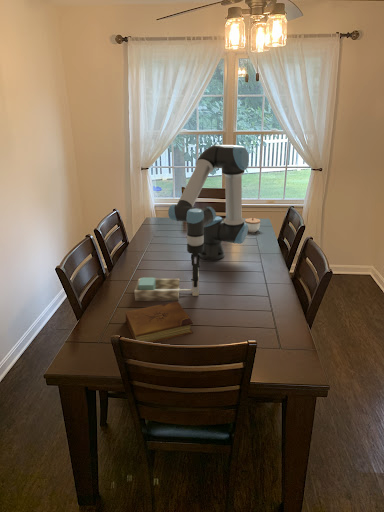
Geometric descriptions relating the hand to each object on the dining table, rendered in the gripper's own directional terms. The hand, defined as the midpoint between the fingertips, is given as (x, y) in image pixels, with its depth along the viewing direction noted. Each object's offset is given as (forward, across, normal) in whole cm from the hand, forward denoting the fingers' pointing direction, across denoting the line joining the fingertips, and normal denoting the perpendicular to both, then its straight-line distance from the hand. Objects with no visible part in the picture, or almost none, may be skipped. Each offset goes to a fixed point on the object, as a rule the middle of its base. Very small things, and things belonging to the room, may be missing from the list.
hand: (195, 286), depth 177 cm
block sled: (+4, 0, -13) cm, 13 cm away
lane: (+4, 0, -18) cm, 18 cm away
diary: (+5, +28, -15) cm, 32 cm away
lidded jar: (+4, -93, +39) cm, 101 cm away
